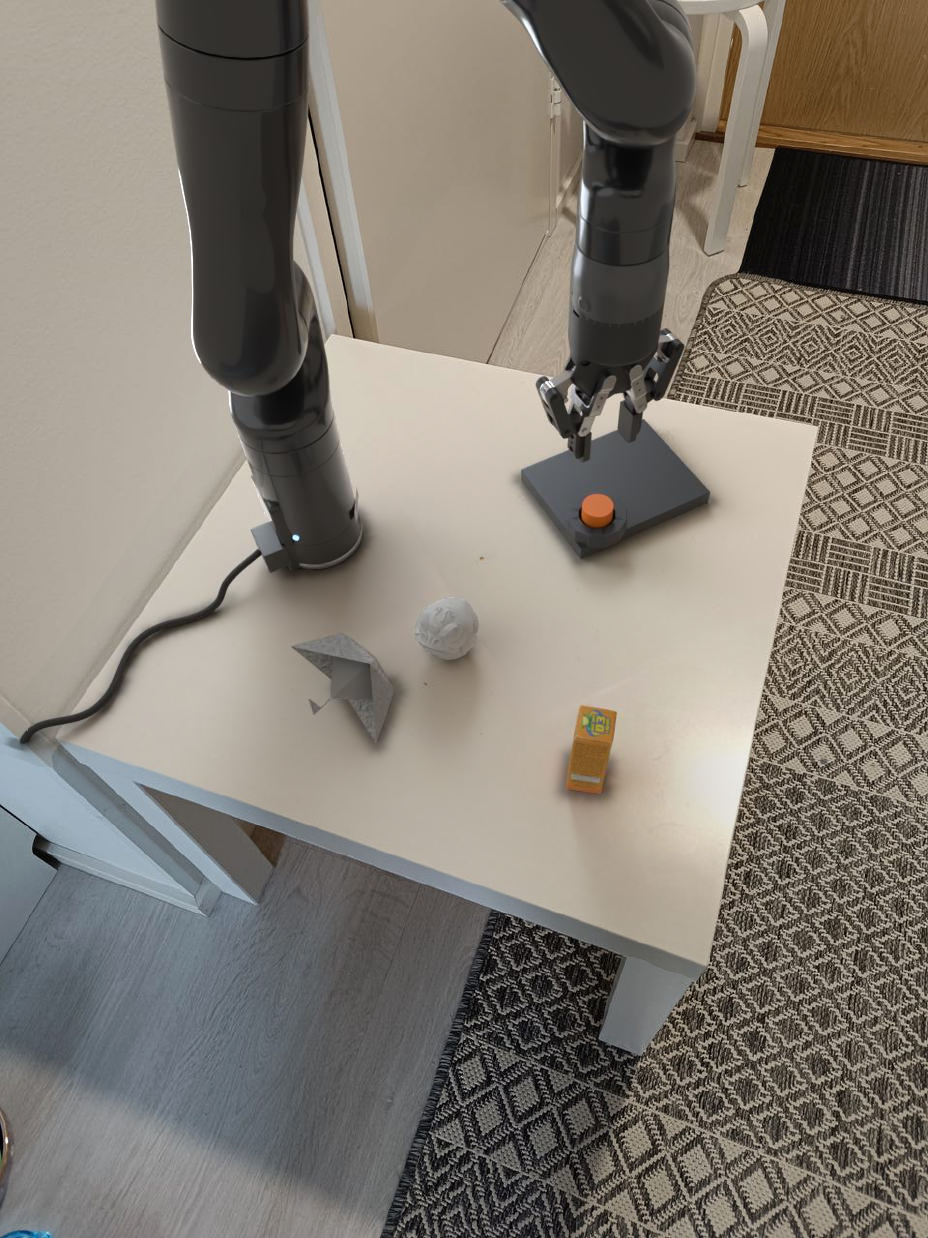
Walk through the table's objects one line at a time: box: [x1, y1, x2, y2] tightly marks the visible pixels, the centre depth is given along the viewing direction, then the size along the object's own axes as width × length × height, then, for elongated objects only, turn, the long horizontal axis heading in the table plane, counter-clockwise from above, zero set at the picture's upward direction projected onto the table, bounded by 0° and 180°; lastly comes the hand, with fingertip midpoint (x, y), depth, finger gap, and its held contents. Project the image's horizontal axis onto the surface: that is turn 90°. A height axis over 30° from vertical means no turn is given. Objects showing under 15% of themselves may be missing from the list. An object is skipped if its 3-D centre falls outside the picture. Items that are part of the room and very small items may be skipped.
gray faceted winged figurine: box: [290, 632, 395, 744], centre depth 84 cm, size 12×6×9 cm
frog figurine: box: [413, 596, 480, 661], centre depth 86 cm, size 6×7×7 cm
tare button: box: [581, 494, 614, 528], centre depth 93 cm, size 3×3×2 cm
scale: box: [520, 418, 711, 560], centre depth 98 cm, size 16×14×4 cm
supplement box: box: [565, 704, 618, 795], centre depth 77 cm, size 3×3×10 cm
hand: (603, 445), depth 85 cm, fingers open, 4 cm apart
